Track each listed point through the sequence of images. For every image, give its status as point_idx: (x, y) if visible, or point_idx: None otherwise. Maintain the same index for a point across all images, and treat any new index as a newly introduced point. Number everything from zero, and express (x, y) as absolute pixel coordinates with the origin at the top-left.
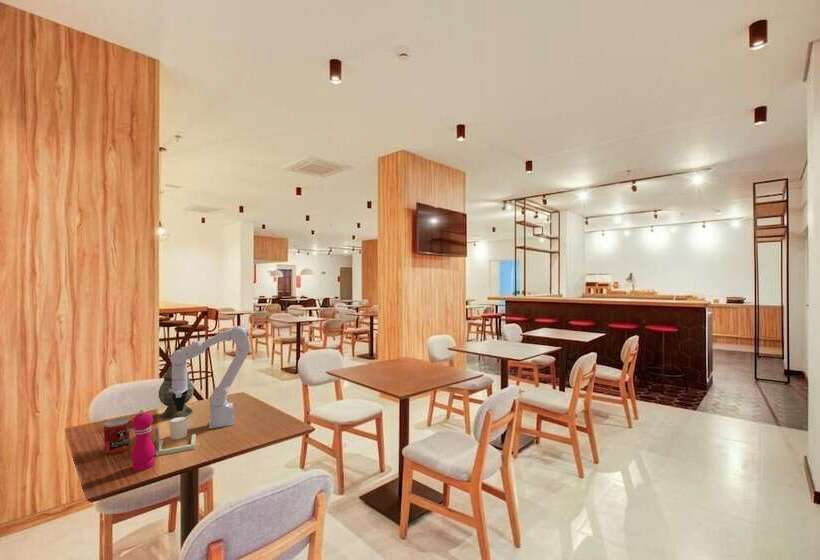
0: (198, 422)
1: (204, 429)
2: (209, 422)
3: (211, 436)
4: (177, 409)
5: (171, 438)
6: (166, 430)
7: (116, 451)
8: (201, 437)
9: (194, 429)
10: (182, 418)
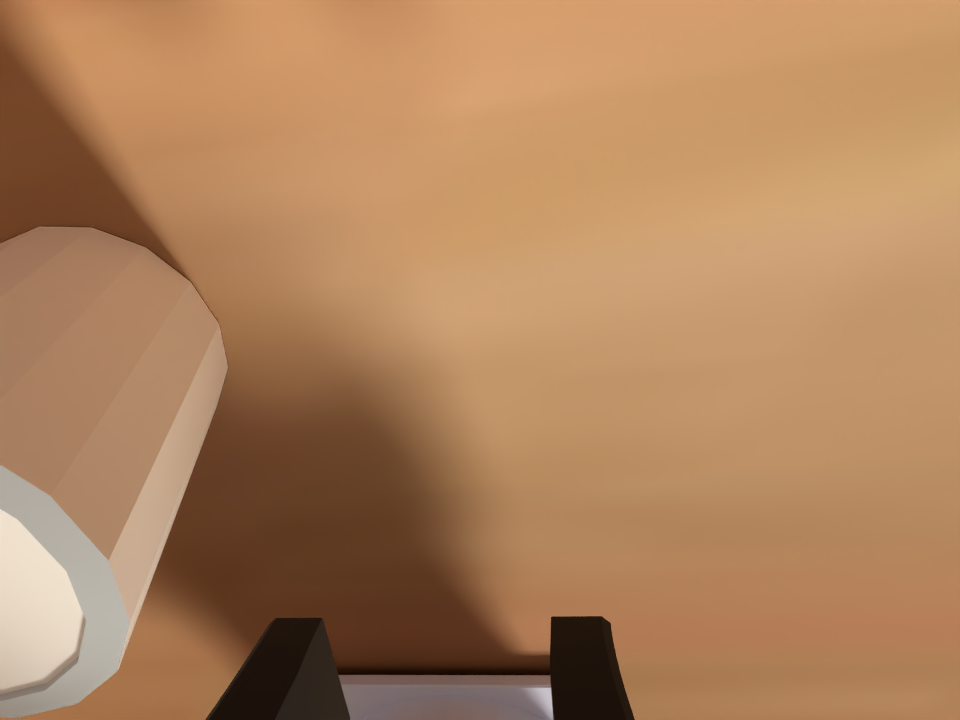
0: (719, 550)
1: (328, 623)
2: (550, 689)
3: None
4: (249, 686)
5: (6, 241)
6: (532, 63)
7: None
8: None
9: (379, 518)
10: (8, 636)
